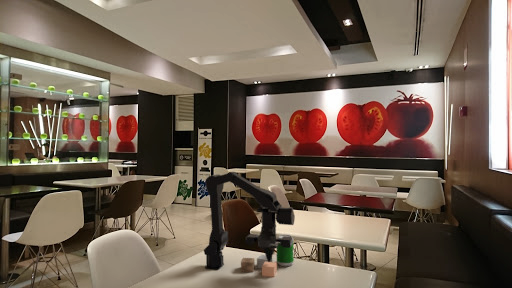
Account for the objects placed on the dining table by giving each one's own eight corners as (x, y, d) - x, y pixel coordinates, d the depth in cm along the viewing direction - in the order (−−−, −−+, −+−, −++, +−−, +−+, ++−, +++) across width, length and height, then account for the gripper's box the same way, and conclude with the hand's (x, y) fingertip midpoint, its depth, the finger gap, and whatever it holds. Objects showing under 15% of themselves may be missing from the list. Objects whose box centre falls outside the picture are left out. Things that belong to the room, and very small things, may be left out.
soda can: (293, 267, 130) (292, 239, 130) (275, 266, 131) (275, 238, 131) (294, 261, 137) (294, 234, 137) (277, 260, 139) (277, 233, 139)
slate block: (257, 267, 131) (256, 258, 131) (261, 263, 135) (261, 254, 135) (267, 269, 128) (267, 260, 129) (272, 265, 133) (272, 256, 133)
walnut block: (241, 271, 127) (240, 262, 127) (243, 267, 132) (242, 257, 132) (253, 272, 126) (252, 262, 126) (254, 267, 131) (254, 258, 131)
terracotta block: (262, 275, 122) (261, 265, 122) (265, 271, 127) (265, 261, 127) (274, 277, 121) (274, 267, 121) (276, 272, 126) (276, 262, 126)
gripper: (240, 226, 119) (241, 266, 119) (287, 230, 114) (288, 271, 114) (249, 220, 130) (249, 256, 130) (292, 222, 124) (293, 261, 124)
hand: (269, 261), depth 124 cm, fingers closed
